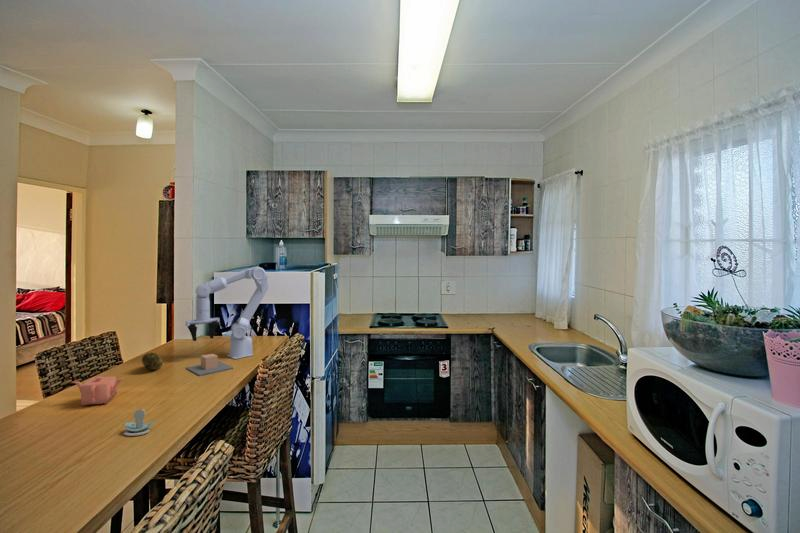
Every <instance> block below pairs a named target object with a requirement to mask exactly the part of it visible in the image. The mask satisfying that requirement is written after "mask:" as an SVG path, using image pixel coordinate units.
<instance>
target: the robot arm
mask: <svg viewBox="0 0 800 533" xmlns="http://www.w3.org/2000/svg"><path fill="white" fill-rule="evenodd" d="M243 279H248V280H252V279H253V280H254V283H255V287H256V288H255V290H254V292H253V294H252V296H251V297H250V299H249V301H248V303H247V304H246V306H245V308H244V309H243V311H242V313H241V315H240V317H238V319H237V320H236V321H235V322H234V323H233V324H232V325H231V328H230V332H231V336H230V350H229V352H230V354H229V353H228V354H227V355H226V357H228V358H231V359H233V360H236V359H242V358H246V357H252V356H254V354H253V340H252V338H251V336H247V329H248V327H249V324H250V322H251V319H252V318H253V316H254V314H255V312H256V311H257V309H258V307H259V306H260V304H261V302H262V300H263V299H264V297H265V295H266V294H267V291H268V289H269V284H268V283H269V282H268V281H269V280H268V275H267V272H266V270H265V269H264V268H263V267H260V266H253V267H251V268H245V269H243V270H241V271H238V272H236V273H234V274H232V275H229V276H227V277H222V276H219V277H218V276H215V277H214V279H212V280H209V281H204V283H201V284H199V285H197V286H196V289H195V293H196V297H195V319H192V320H187V321H185V326H186V327H187V329H188V331H189V332H190V335H191V337H192V341H193V342H197V331H198V327H197V325H198V326H199V325H205V324H208V327H209V339H214V336H215V333H216V330H217V328H218V327H219V323H220V321H221V320H220V317H211V307H210V306H211V301H210V294H215V293H216V292H220V291H222V290H225V289H227V286H228V285H229V284H232V283H235V282H238V281H240V280H243Z"/></svg>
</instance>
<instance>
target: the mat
mask: <svg viewBox="0 0 800 533" xmlns="http://www.w3.org/2000/svg"><path fill="white" fill-rule="evenodd" d="M233 369H234V366H231V365H228V364H226V363H224V362H222V361H220V360H218V367H217V368H212V369H207V370H205V369H203V368H201V363H200V364H196V365H191V366H186V367H185V370H187V371H190V372H191V373H192V374H195V375H197V376H198V377H203V376H206V375H211V374H216V373H220V372H225V371H230V370H233Z"/></svg>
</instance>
